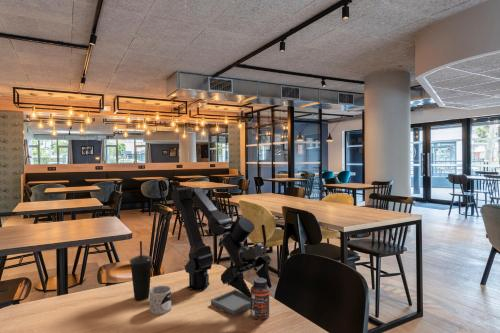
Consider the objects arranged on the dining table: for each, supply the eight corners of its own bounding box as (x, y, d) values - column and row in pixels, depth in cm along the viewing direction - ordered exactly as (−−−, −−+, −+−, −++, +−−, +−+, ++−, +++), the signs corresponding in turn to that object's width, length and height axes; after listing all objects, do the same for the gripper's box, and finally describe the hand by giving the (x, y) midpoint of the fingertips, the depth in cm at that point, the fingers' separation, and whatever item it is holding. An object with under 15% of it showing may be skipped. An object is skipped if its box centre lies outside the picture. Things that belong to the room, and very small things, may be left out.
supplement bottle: (253, 321, 95) (253, 284, 95) (248, 312, 101) (248, 277, 100) (272, 319, 97) (272, 282, 96) (266, 309, 102) (266, 275, 102)
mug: (165, 316, 99) (165, 295, 99) (145, 314, 100) (145, 293, 100) (178, 301, 109) (178, 282, 108) (160, 299, 110) (160, 280, 110)
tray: (210, 304, 106) (210, 299, 106) (235, 294, 114) (235, 289, 114) (234, 316, 98) (234, 311, 98) (258, 304, 106) (258, 298, 106)
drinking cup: (156, 293, 115) (155, 238, 114) (147, 303, 107) (146, 244, 106) (136, 292, 116) (135, 238, 115) (126, 302, 108) (125, 244, 107)
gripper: (226, 241, 95) (253, 288, 87) (267, 230, 108) (293, 270, 101) (210, 261, 100) (234, 307, 93) (250, 248, 114) (274, 287, 107)
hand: (261, 292), depth 98 cm, fingers open, 9 cm apart
